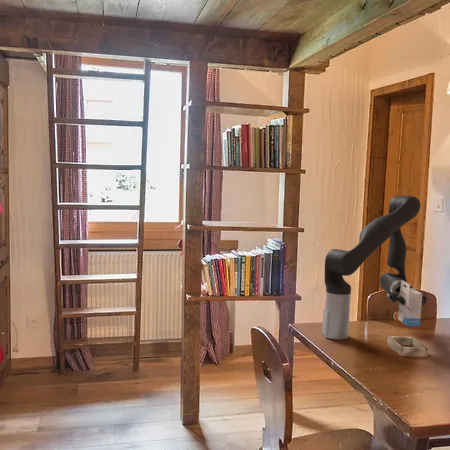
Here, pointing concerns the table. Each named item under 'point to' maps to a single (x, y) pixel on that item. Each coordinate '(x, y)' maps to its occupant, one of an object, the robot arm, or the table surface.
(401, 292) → the ink box
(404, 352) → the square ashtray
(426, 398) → the table surface
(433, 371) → the table surface
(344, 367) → the table surface
